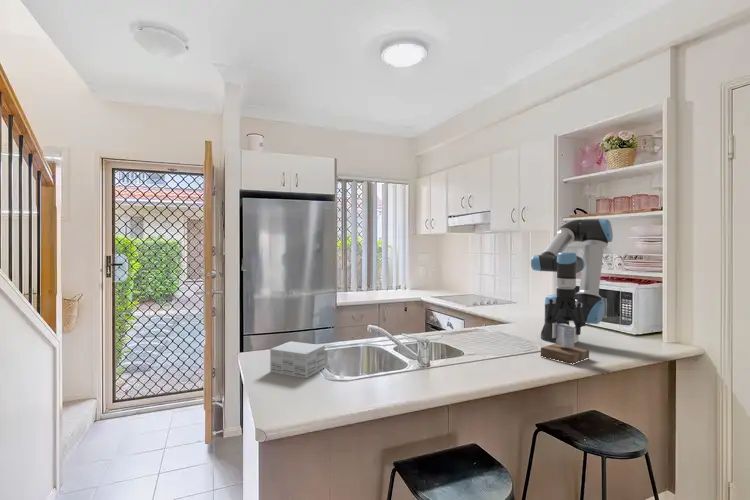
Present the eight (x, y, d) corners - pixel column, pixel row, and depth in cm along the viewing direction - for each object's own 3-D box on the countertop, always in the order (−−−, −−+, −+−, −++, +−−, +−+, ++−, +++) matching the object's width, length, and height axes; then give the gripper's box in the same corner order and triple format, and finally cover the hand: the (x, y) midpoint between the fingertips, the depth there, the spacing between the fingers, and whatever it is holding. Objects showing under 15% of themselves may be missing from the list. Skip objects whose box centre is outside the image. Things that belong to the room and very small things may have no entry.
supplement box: (325, 368, 157) (325, 345, 157) (306, 379, 145) (306, 353, 145) (290, 362, 164) (290, 340, 164) (269, 372, 152) (269, 348, 152)
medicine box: (574, 347, 168) (574, 327, 167) (563, 347, 168) (564, 327, 167) (565, 342, 176) (566, 323, 175) (555, 342, 176) (556, 323, 175)
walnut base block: (557, 351, 182) (557, 342, 181) (588, 359, 170) (589, 349, 170) (540, 356, 173) (540, 347, 173) (572, 365, 162) (572, 355, 162)
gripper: (538, 286, 177) (537, 335, 178) (587, 291, 160) (586, 346, 161) (547, 284, 182) (546, 333, 182) (596, 290, 165) (594, 343, 165)
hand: (564, 339), depth 172 cm, fingers closed on medicine box, 9 cm apart
